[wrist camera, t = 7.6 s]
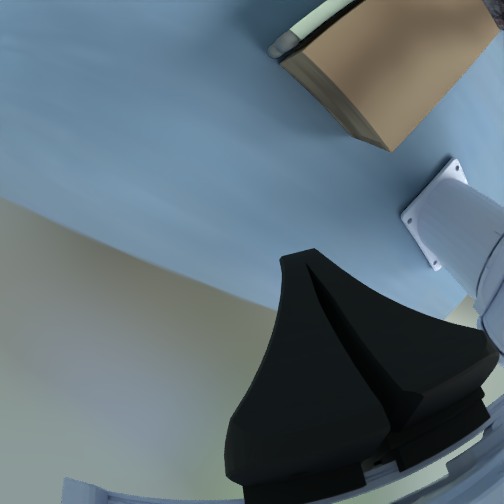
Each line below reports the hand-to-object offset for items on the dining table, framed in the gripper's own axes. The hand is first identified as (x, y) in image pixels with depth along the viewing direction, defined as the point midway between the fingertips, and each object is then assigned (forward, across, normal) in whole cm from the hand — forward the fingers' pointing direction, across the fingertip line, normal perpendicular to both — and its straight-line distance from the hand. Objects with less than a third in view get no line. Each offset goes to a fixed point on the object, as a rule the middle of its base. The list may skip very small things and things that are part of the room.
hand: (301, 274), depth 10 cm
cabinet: (+10, -11, -10) cm, 18 cm away
